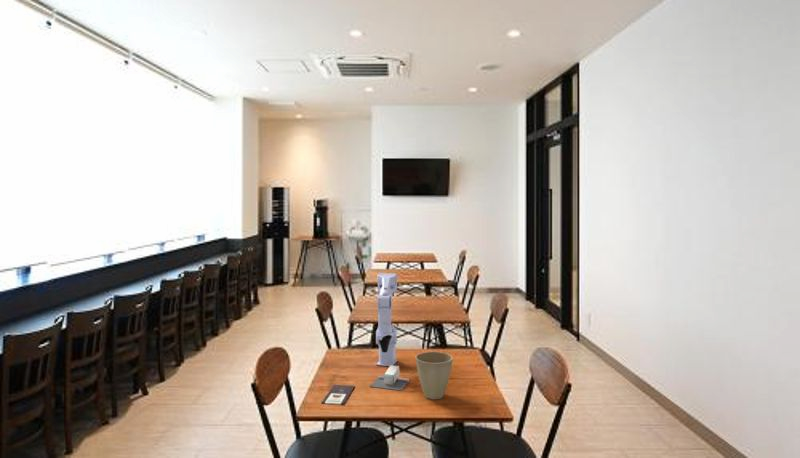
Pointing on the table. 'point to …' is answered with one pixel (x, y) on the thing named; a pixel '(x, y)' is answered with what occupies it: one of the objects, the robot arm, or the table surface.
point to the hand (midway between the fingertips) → (384, 351)
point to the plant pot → (434, 373)
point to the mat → (397, 385)
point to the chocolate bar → (338, 395)
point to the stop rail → (396, 379)
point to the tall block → (391, 375)
